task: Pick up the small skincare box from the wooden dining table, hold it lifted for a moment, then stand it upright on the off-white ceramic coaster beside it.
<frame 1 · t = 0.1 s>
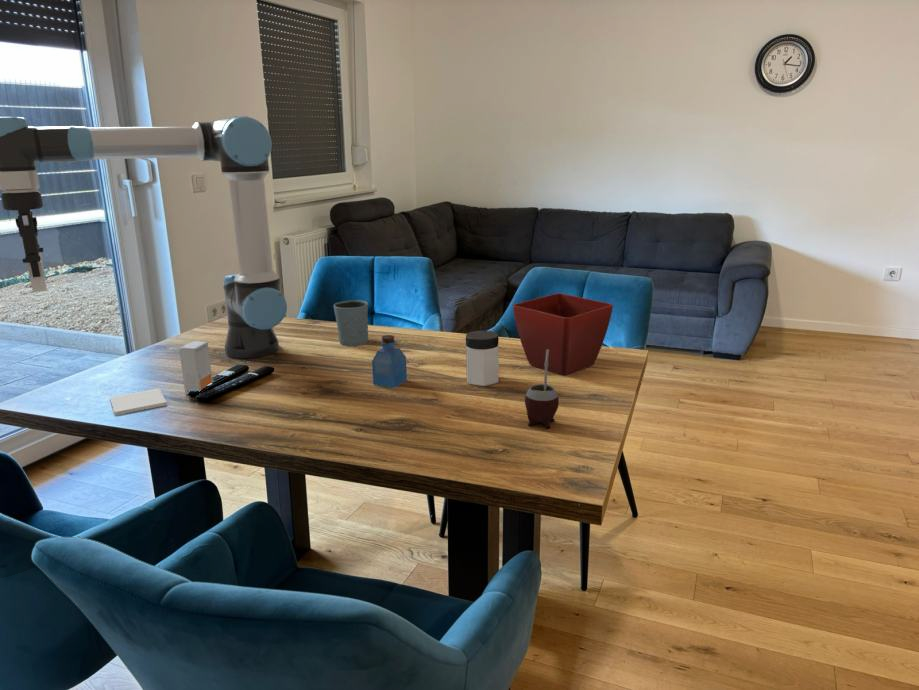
hand: (39, 286, 153), 28 cm above the table, tool pointing down, fingers open, 13 cm apart
skincare box: (199, 391, 166), on the table
jar: (482, 381, 170), on the table
mate gourd: (541, 423, 144), on the table
grey cup: (353, 342, 204), on the table
plant pot: (561, 365, 180), on the table
coaster: (138, 402, 159), on the table
perfume bottle: (390, 383, 170), on the table
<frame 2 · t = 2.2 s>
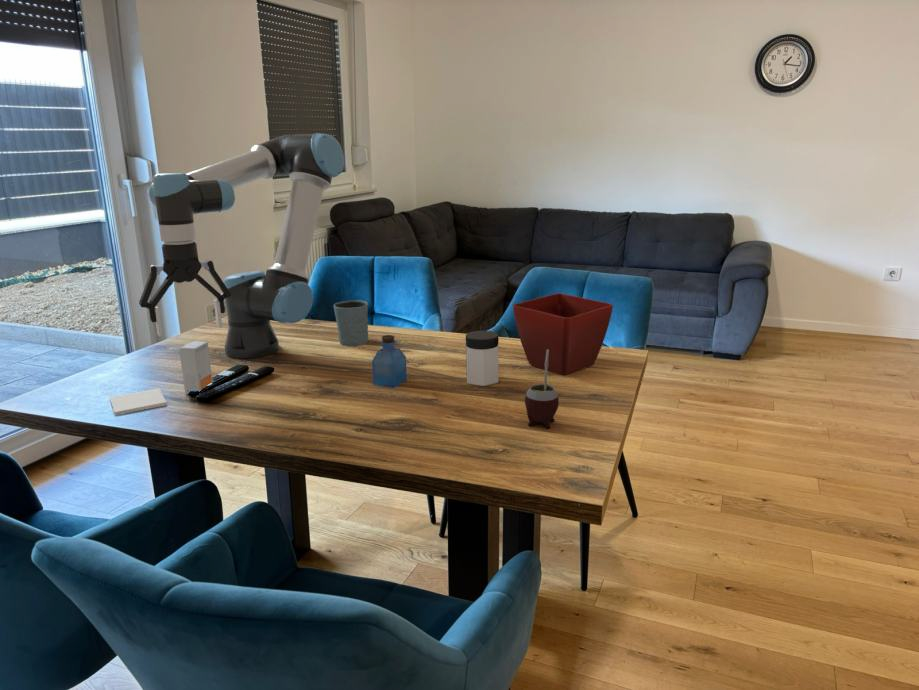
hand: (190, 330, 161), 16 cm above the table, tool pointing down, fingers open, 13 cm apart
nothing on the table moved.
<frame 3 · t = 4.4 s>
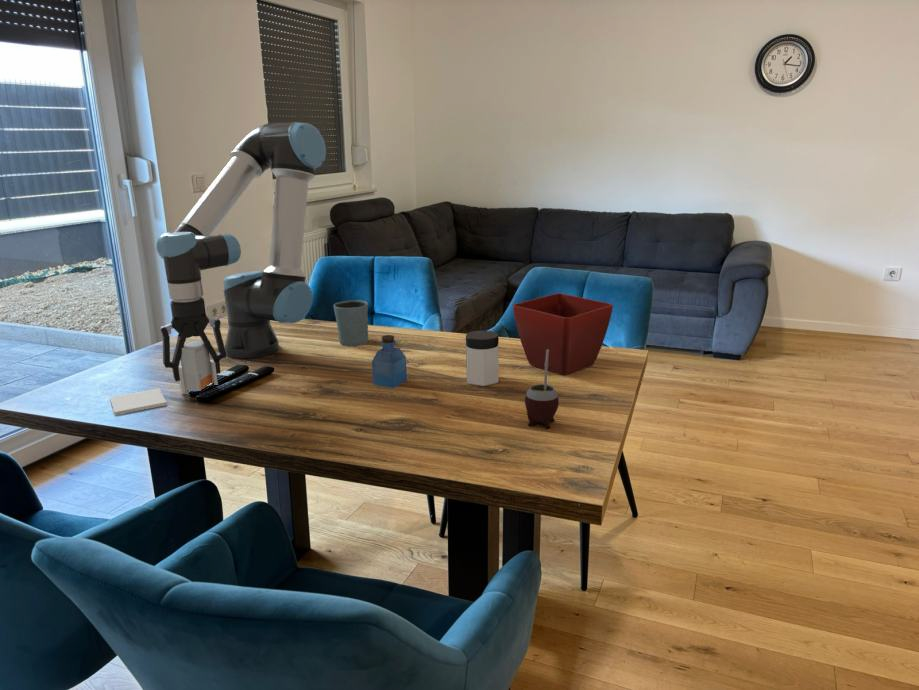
hand: (199, 389, 166), 0 cm above the table, tool pointing down, fingers closed on skincare box, 7 cm apart
skincare box: (200, 391, 166), on the table, touching gripper
everything else where it was.
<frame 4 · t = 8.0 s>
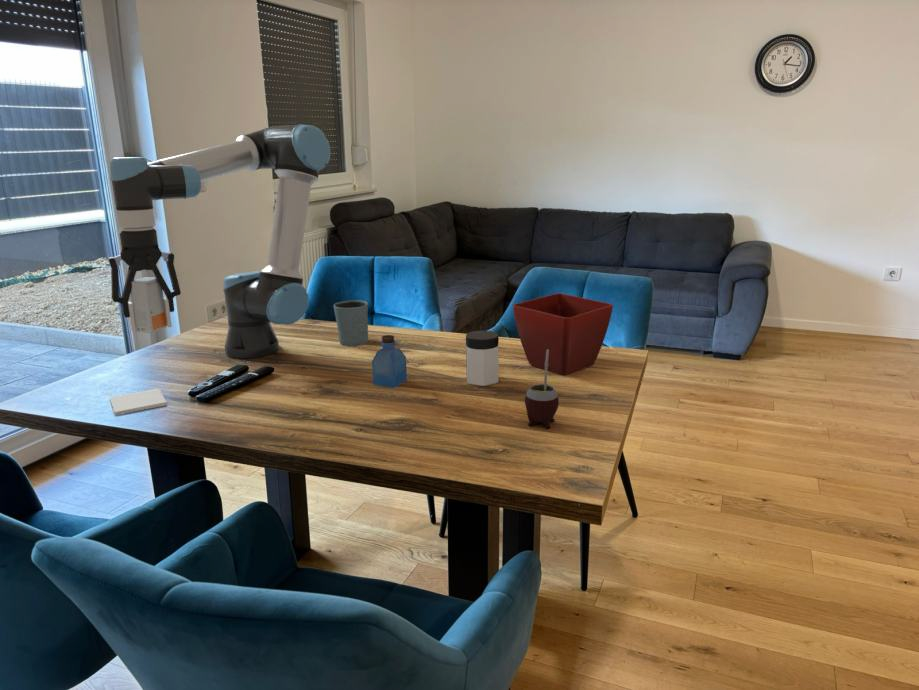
hand: (151, 327, 156), 18 cm above the table, tool pointing down, fingers closed on skincare box, 7 cm apart
skincare box: (152, 330, 156), point 17 cm above the table, touching gripper
everything else where it was.
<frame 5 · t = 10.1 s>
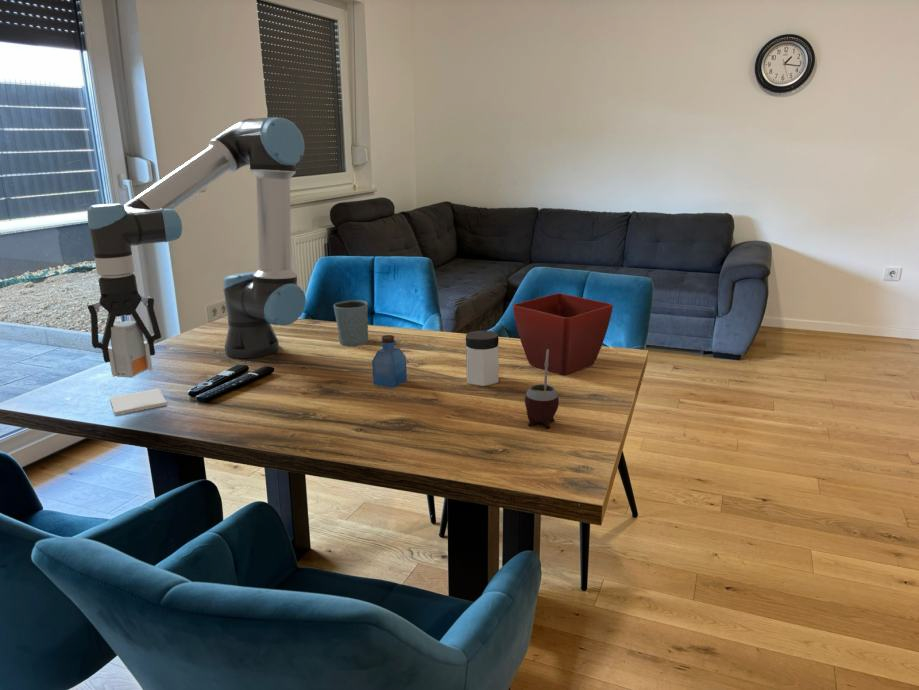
hand: (132, 371, 156), 8 cm above the table, tool pointing down, fingers closed on skincare box, 7 cm apart
skincare box: (133, 374, 157), point 7 cm above the table, touching gripper
everything else where it was.
when the fingers open (3 cm above the table, at t = 11.8 s): skincare box drops 2 cm, resting on coaster.
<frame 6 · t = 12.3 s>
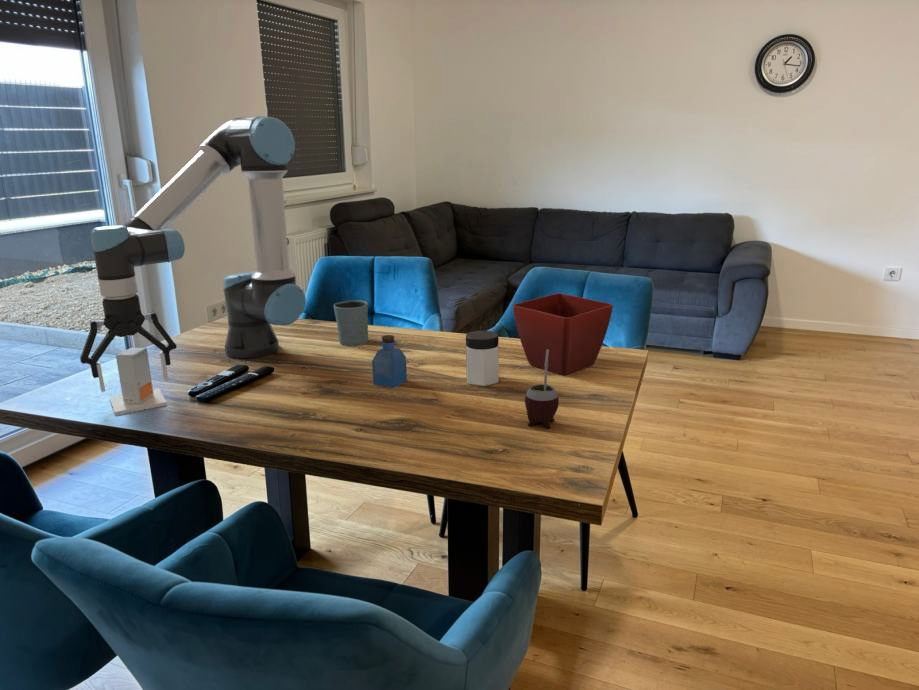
hand: (135, 384, 157), 5 cm above the table, tool pointing down, fingers open, 13 cm apart
skincare box: (139, 400, 159), point 1 cm above the table, touching coaster
everything else where it was.
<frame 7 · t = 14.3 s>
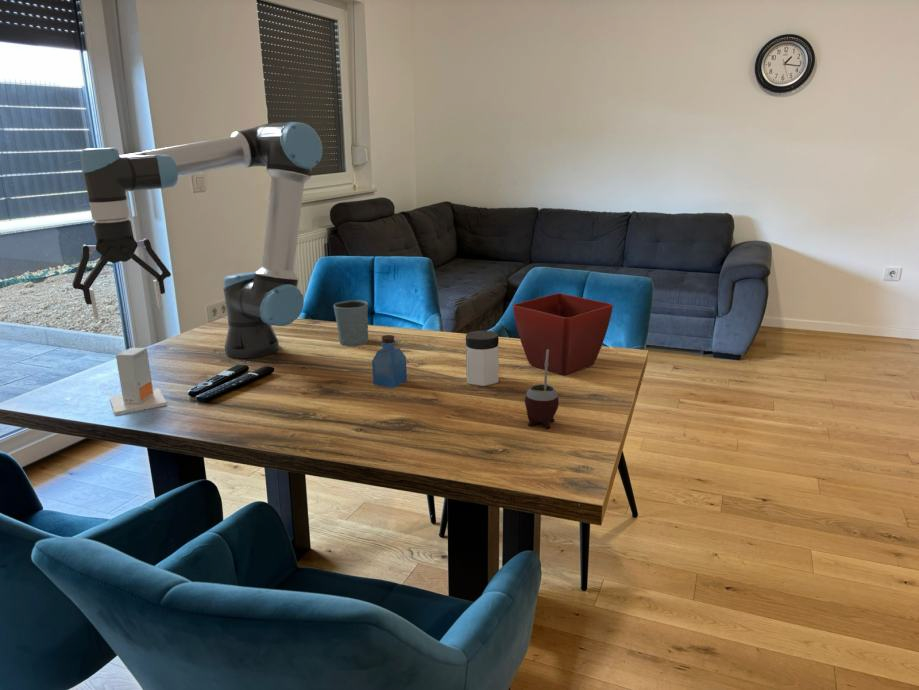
hand: (129, 312, 155), 21 cm above the table, tool pointing down, fingers open, 13 cm apart
nothing on the table moved.
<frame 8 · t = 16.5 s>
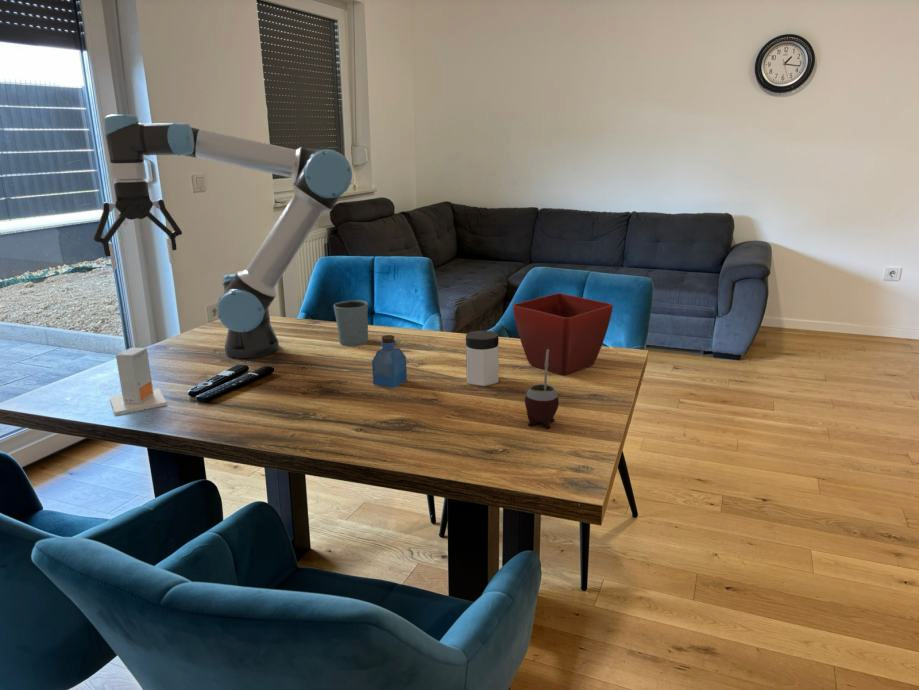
hand: (143, 266, 172), 29 cm above the table, tool pointing down, fingers open, 13 cm apart
nothing on the table moved.
at the end: skincare box 0.4 cm off-centre on the coaster, point 0.6 cm above the coaster's base; skincare box tilted 0°; the gripper is holding nothing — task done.
